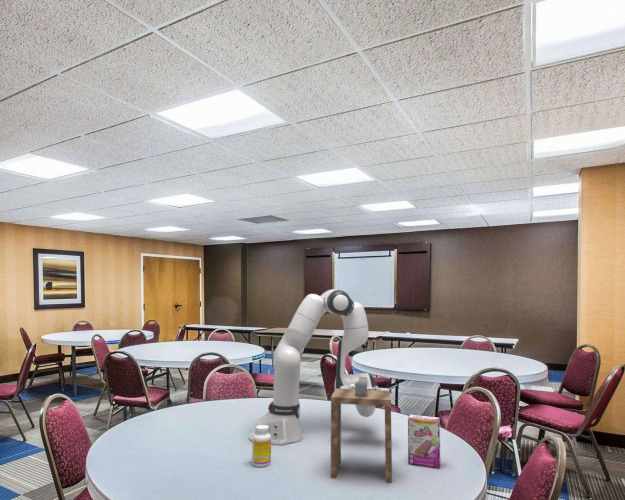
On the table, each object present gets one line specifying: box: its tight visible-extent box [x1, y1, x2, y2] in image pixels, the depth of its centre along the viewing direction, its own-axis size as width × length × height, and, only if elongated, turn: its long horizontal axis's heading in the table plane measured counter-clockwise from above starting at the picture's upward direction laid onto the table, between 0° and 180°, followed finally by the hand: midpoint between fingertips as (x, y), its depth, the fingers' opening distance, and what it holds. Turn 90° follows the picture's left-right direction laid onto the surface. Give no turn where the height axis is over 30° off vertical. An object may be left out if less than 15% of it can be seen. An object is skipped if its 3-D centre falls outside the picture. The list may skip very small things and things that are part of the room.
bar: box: [355, 377, 368, 397], centre depth 150 cm, size 4×20×4 cm, turn 170°
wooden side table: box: [330, 388, 393, 484], centre depth 142 cm, size 20×14×26 cm
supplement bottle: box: [251, 425, 272, 468], centre depth 147 cm, size 7×7×13 cm
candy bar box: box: [407, 414, 441, 469], centre depth 149 cm, size 11×5×16 cm, turn 71°
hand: (363, 387), depth 161 cm, fingers open, 8 cm apart
